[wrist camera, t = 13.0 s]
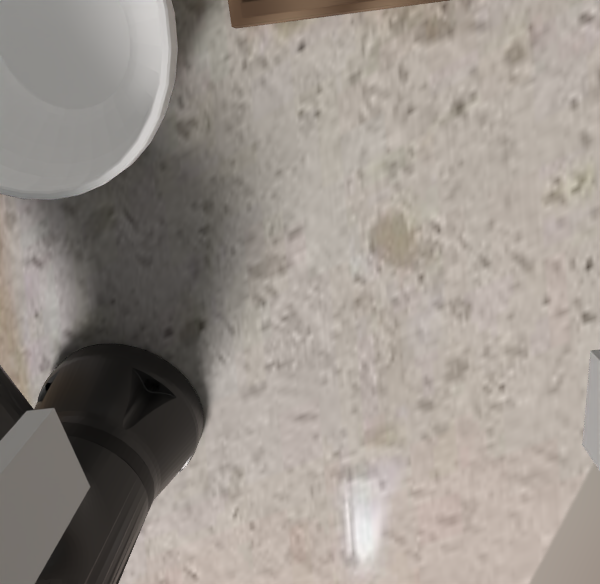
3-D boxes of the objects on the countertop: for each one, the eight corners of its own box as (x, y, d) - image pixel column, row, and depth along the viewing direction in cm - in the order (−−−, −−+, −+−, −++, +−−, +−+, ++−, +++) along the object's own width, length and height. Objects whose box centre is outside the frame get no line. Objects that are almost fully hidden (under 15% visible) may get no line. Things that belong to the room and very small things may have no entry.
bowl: (-110, -166, 30) (-236, -228, 23) (207, -132, 29) (168, -187, 23) (-45, 160, 38) (-124, 180, 32) (201, 191, 38) (172, 218, 31)
